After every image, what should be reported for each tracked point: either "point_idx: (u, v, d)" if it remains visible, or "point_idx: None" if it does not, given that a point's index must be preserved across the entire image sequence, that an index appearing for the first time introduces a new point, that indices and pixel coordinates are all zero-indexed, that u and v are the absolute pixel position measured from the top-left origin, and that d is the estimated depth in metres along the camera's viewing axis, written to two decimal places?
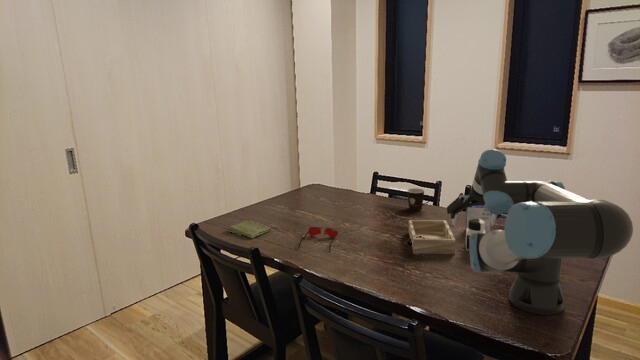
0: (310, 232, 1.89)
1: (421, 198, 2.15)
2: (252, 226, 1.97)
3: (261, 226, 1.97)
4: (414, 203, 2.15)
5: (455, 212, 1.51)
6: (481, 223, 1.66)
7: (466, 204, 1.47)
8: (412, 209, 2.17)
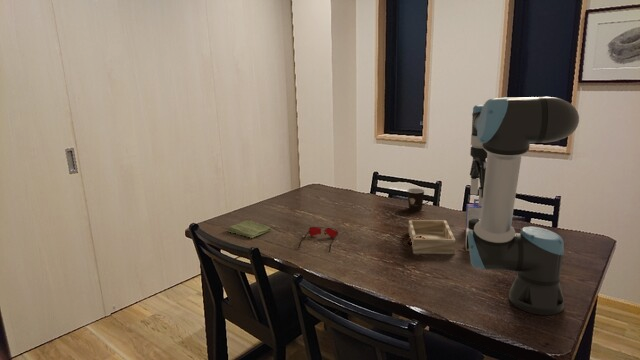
0: (310, 232, 1.89)
1: (421, 198, 2.15)
2: (252, 226, 1.97)
3: (261, 226, 1.97)
4: (414, 203, 2.15)
5: (471, 174, 1.71)
6: None
7: None
8: (412, 209, 2.17)
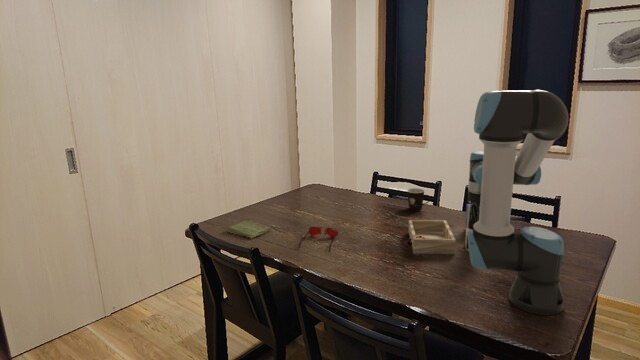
0: (310, 232, 1.89)
1: (421, 198, 2.15)
2: (251, 226, 1.97)
3: (260, 226, 1.97)
4: (414, 203, 2.15)
5: None
6: None
7: None
8: (412, 209, 2.17)
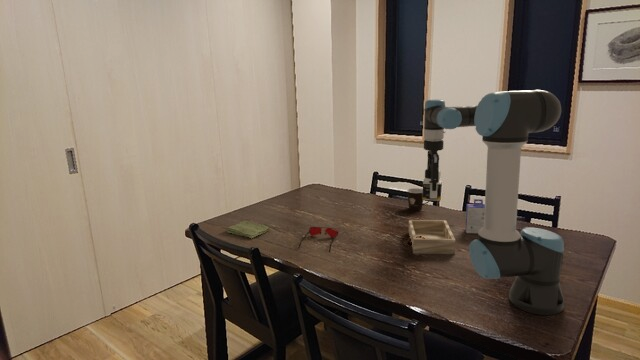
0: (311, 232, 1.89)
1: (421, 198, 2.15)
2: (251, 226, 1.97)
3: (260, 226, 1.97)
4: (414, 203, 2.15)
5: None
6: None
7: None
8: (412, 209, 2.17)
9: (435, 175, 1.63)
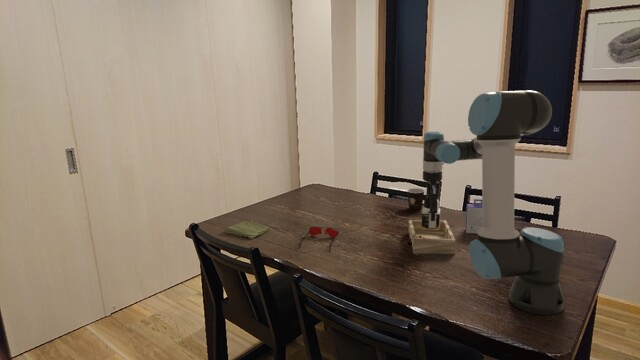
0: (311, 232, 1.90)
1: (421, 198, 2.15)
2: (250, 226, 1.97)
3: (259, 226, 1.97)
4: (414, 203, 2.15)
5: None
6: None
7: None
8: (412, 209, 2.17)
9: (434, 206, 1.66)
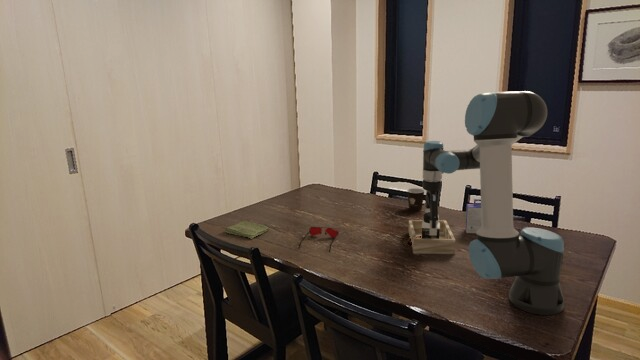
0: (311, 232, 1.90)
1: (421, 198, 2.15)
2: (250, 226, 1.97)
3: (259, 226, 1.97)
4: (414, 203, 2.15)
5: (426, 204, 1.81)
6: None
7: None
8: (412, 209, 2.17)
9: (435, 212, 1.65)
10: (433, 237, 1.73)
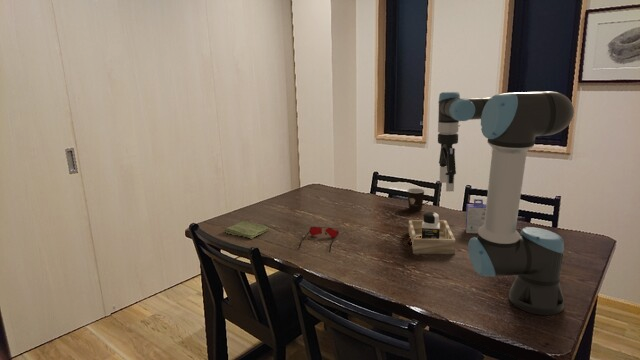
0: (311, 232, 1.90)
1: (421, 198, 2.15)
2: (249, 227, 1.97)
3: (258, 226, 1.97)
4: (414, 203, 2.15)
5: (440, 162, 1.73)
6: (435, 216, 1.72)
7: None
8: (412, 209, 2.17)
9: (452, 166, 1.56)
10: (433, 237, 1.73)
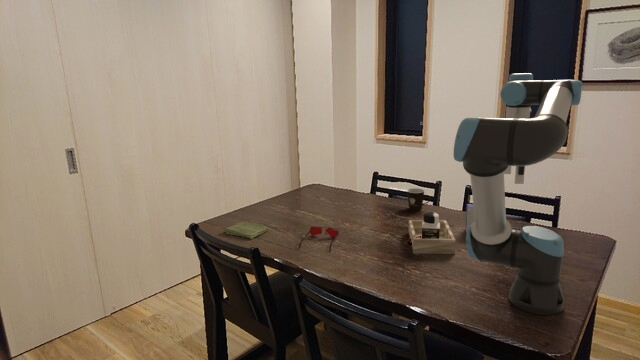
0: (311, 232, 1.90)
1: (421, 198, 2.15)
2: (249, 227, 1.96)
3: (258, 226, 1.97)
4: (414, 203, 2.15)
5: None
6: (435, 216, 1.72)
7: None
8: (412, 209, 2.17)
9: None
10: (433, 237, 1.73)
